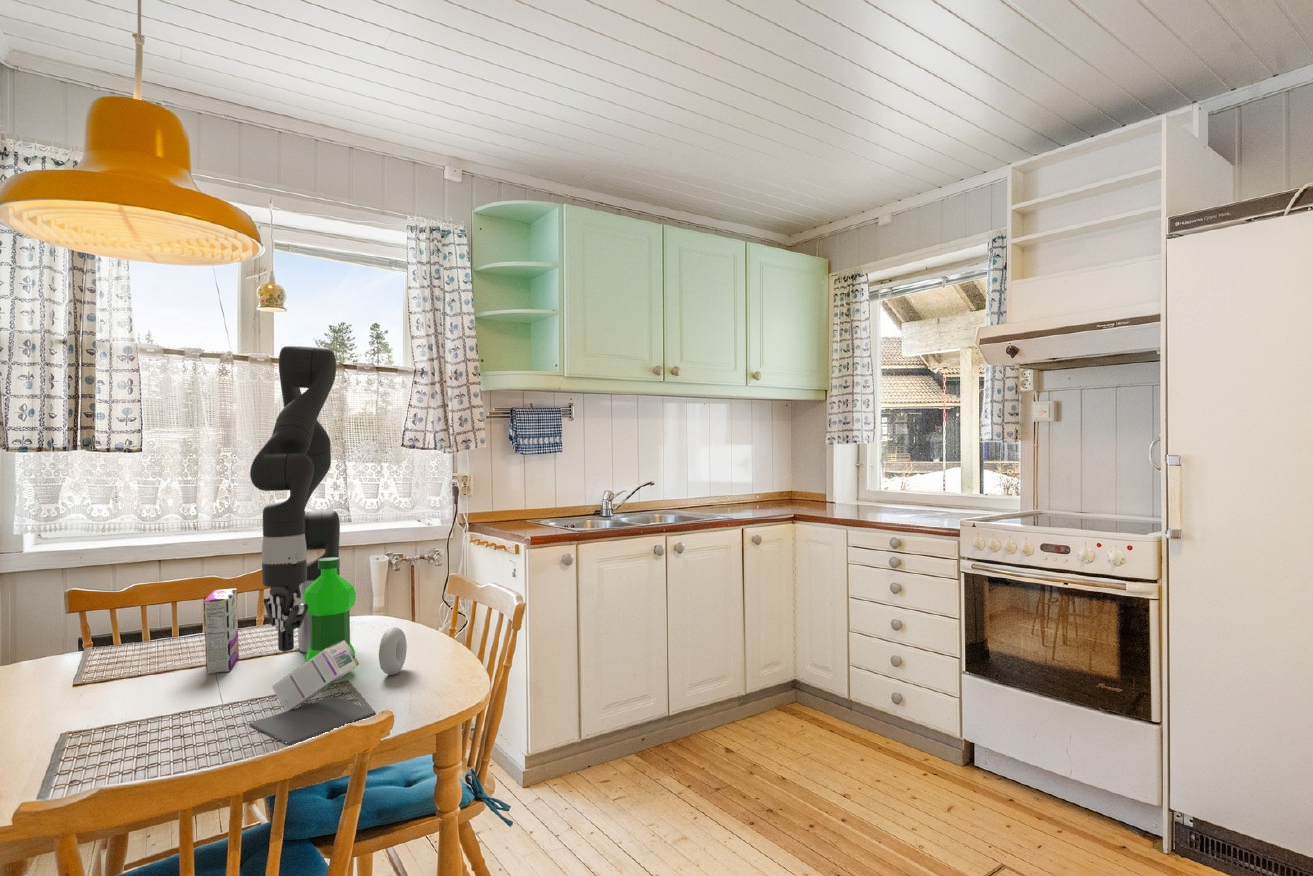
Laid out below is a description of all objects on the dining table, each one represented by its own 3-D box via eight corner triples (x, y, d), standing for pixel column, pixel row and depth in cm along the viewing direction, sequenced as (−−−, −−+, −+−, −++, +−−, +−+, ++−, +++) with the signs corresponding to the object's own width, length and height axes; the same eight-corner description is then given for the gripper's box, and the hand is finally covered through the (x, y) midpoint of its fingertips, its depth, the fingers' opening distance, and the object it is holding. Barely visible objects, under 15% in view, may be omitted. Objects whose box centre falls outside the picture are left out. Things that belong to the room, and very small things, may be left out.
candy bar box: (214, 660, 167) (213, 589, 166) (239, 657, 169) (237, 587, 168) (204, 675, 156) (202, 600, 156) (230, 672, 158) (229, 597, 158)
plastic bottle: (364, 666, 161) (362, 554, 161) (342, 683, 150) (340, 563, 150) (320, 666, 161) (318, 555, 161) (295, 683, 151) (292, 563, 150)
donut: (394, 666, 161) (393, 621, 161) (409, 666, 161) (408, 621, 161) (376, 682, 151) (375, 634, 151) (392, 682, 151) (392, 634, 151)
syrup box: (286, 713, 134) (341, 676, 131) (270, 686, 135) (325, 648, 132) (307, 701, 140) (361, 665, 137) (291, 675, 141) (345, 638, 138)
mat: (249, 725, 129) (249, 723, 129) (334, 698, 142) (334, 696, 142) (288, 745, 121) (288, 742, 121) (375, 714, 133) (375, 711, 133)
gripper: (247, 558, 137) (249, 649, 137) (281, 565, 129) (283, 661, 129) (287, 552, 143) (288, 639, 143) (322, 559, 135) (323, 651, 135)
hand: (286, 650), depth 136 cm, fingers closed
